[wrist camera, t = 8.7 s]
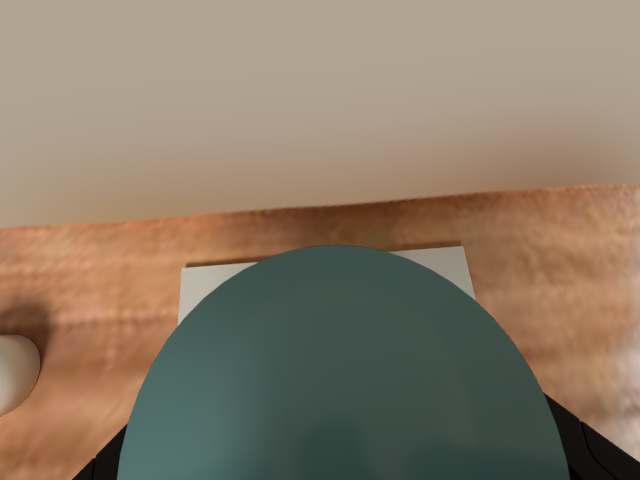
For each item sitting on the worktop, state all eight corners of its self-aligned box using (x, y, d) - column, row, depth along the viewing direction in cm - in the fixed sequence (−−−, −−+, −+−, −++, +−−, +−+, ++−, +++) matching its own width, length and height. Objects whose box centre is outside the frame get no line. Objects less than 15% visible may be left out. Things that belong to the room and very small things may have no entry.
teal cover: (392, 450, 14) (615, 884, 3) (254, 426, 14) (34, 735, 4) (399, 306, 16) (549, 269, 5) (278, 289, 16) (186, 225, 6)
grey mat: (460, 247, 20) (463, 246, 19) (510, 461, 16) (514, 465, 16) (184, 269, 20) (182, 268, 19) (169, 487, 16) (165, 491, 16)
